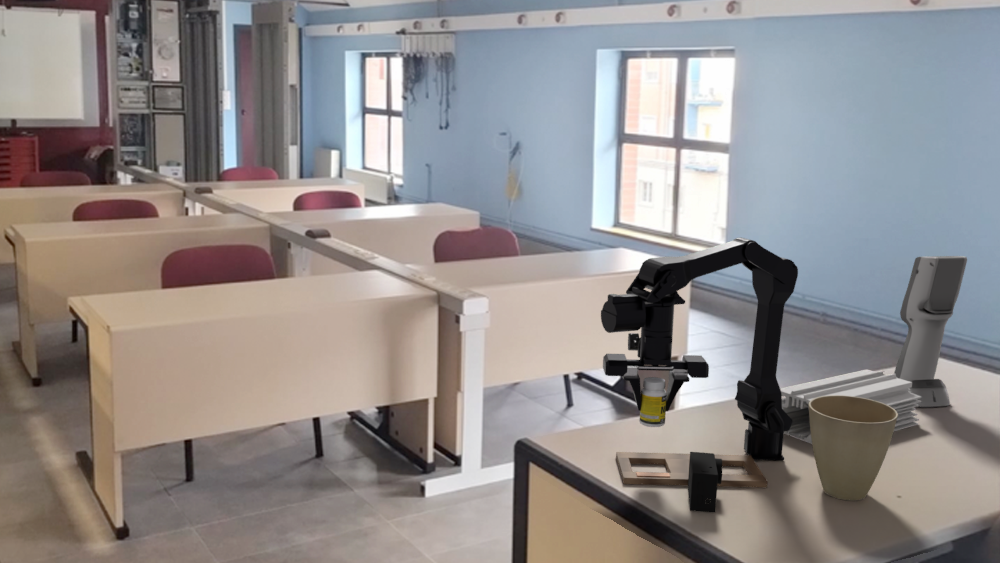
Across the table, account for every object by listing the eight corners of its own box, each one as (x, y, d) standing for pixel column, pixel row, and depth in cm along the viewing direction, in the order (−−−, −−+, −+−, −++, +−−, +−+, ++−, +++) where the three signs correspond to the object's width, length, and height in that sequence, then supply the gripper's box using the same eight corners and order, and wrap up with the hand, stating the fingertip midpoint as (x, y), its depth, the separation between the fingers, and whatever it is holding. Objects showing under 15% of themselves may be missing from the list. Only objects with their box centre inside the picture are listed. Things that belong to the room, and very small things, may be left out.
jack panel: (750, 461, 195) (750, 454, 194) (767, 487, 182) (767, 480, 182) (615, 457, 195) (616, 450, 194) (623, 484, 182) (623, 476, 182)
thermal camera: (912, 409, 229) (929, 257, 222) (879, 392, 241) (894, 248, 235) (957, 406, 232) (974, 257, 225) (922, 390, 244) (938, 247, 237)
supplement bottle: (664, 428, 184) (666, 384, 182) (638, 426, 185) (640, 382, 183) (665, 420, 188) (667, 377, 187) (640, 418, 189) (642, 375, 188)
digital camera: (722, 514, 170) (725, 475, 169) (690, 511, 171) (692, 472, 170) (718, 490, 181) (721, 453, 179) (687, 487, 181) (690, 451, 180)
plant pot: (784, 482, 185) (791, 399, 181) (849, 473, 190) (857, 392, 187) (838, 515, 171) (847, 425, 168) (907, 504, 176) (917, 417, 173)
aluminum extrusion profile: (918, 425, 219) (923, 381, 217) (827, 451, 202) (832, 403, 200) (862, 407, 230) (866, 365, 228) (772, 430, 213) (775, 385, 211)
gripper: (700, 319, 191) (695, 397, 194) (601, 317, 191) (598, 395, 194) (711, 333, 180) (706, 416, 183) (607, 331, 180) (603, 414, 183)
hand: (652, 410), depth 186 cm, fingers closed on supplement bottle, 5 cm apart
